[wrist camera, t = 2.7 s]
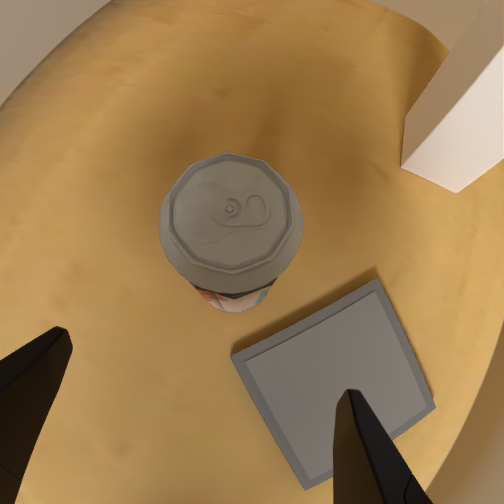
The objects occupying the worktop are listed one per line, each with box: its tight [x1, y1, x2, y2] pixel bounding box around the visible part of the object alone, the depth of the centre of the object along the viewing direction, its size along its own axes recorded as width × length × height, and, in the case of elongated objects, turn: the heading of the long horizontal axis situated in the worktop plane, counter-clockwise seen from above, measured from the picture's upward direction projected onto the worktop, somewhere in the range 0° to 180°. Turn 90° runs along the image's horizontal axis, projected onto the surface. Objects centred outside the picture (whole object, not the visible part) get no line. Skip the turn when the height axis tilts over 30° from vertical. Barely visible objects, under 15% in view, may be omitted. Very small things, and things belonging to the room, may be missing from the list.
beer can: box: [158, 152, 303, 313], centre depth 15 cm, size 5×5×12 cm
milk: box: [401, 0, 504, 193], centre depth 14 cm, size 6×6×22 cm
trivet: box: [230, 277, 436, 490], centre depth 19 cm, size 11×11×1 cm
